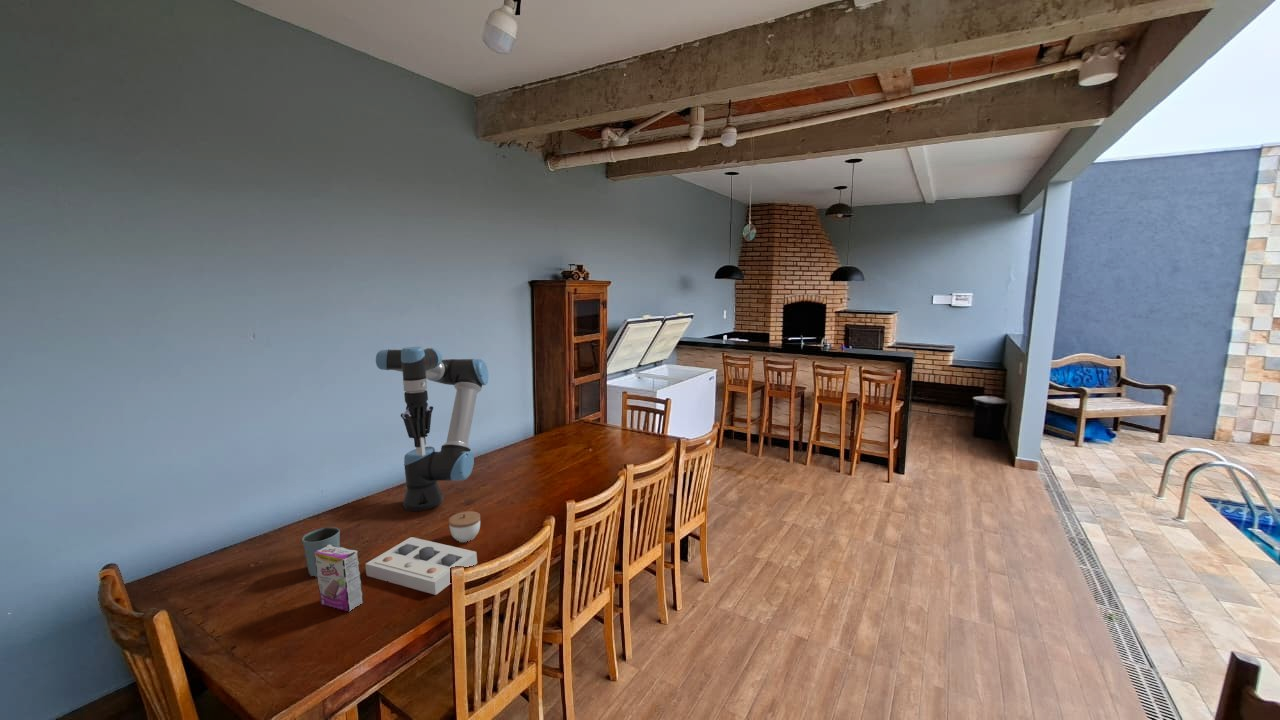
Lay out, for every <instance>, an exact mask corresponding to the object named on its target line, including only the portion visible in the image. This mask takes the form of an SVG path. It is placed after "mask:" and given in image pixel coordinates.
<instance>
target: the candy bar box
mask: <svg viewBox="0 0 1280 720" xmlns="http://www.w3.org/2000/svg"><path fill="white" fill-rule="evenodd" d="M358 551H359V550H356V549H351V548H345V547H343V546H340V547H338V546H334V545H327V546H325V547H323V548H322V549H320V550H318V551H316V552H315V553H314V554H315V562H316V570H317V577H316V578H317V583H318V584H317V585H318V592H319V600H320V605H321V606H325V607H328V608H331V607H333V608H332V609H335V608H337V610H339V609H340V611H342V610H344V611H343V612H346V611H348V612H347V613H351V612H352V611H351V610H352V609H354V608H355V607H357V606H358V607H359V606H361V605H362V604H363V603H364V599H363V598H364V597H363V590H362V589H363V587H362V580H361V579H362V578H361V569H360V562H359V561H360V560H359V552H358ZM360 604H361V605H360ZM358 607H357V608H358ZM355 609H356V608H355ZM355 609H354V610H355ZM350 611H351V612H350Z"/></svg>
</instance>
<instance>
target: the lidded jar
mask: <svg viewBox="0 0 1280 720" xmlns="http://www.w3.org/2000/svg"><path fill="white" fill-rule="evenodd" d="M448 526H449V531H450V532H449V533H450V535H451V536H452V538H453V539H455V540H456V541H457V542H458V541H459V543H468V542H471V541H473V540H474V539H475V538H476V536H477V535H478V534H479V532H480V528H481V514H480V513H479V512H477V511H474V510H473V511H472V510H471V511H468V510H467V511H460V512H457V513H455V514H453V515H452V516H450V518H448ZM470 540H471V541H470ZM467 541H468V542H467Z"/></svg>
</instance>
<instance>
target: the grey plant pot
mask: <svg viewBox="0 0 1280 720" xmlns="http://www.w3.org/2000/svg"><path fill="white" fill-rule="evenodd" d="M340 534H341V531H340V529H339V528H338V527H334V526H333V527H332V526H331V527H330V526H329V527H321V528H318V529H314V530H312V531H309V532H308V533H306V534H304V536H303V537H302V538H301V541H302V545H303V549H304V555H305V560H306V565H307V569H308V570H307V571H308V574H309V575H310V576H311V577H312V576H315V577H314V578H318V577H317V570H316V562H315V554H314V553H315V552H316V551H318V550H320V549H322V548H323V547H325V546H327V545H334V546H338V547H341V546H340V545H341V543H340V542H341V541H340V537H341V535H340Z"/></svg>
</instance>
